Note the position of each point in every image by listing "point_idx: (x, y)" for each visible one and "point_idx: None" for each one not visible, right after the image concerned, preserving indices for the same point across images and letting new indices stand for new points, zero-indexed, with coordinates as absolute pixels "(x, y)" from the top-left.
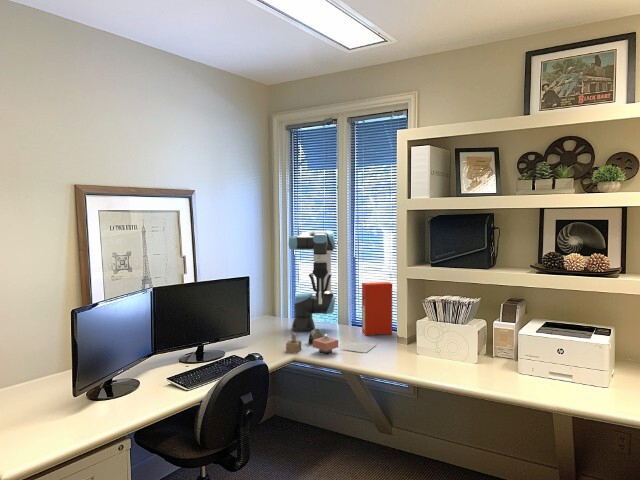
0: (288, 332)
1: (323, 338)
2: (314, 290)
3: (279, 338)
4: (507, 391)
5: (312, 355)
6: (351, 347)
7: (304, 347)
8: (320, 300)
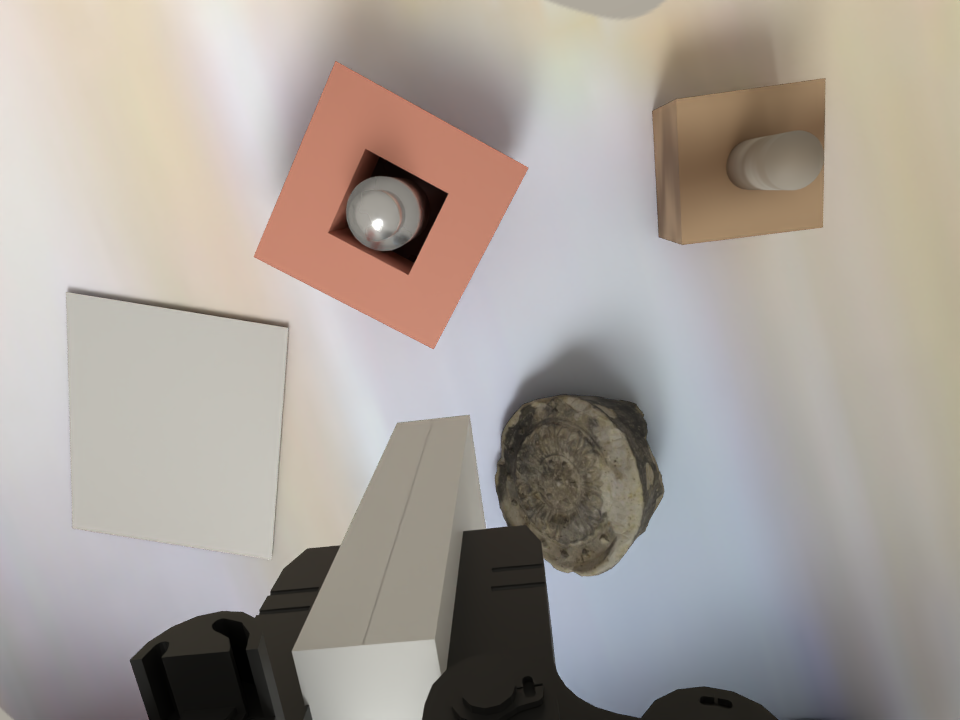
0: (913, 691)
1: (402, 195)
2: (702, 712)
3: (955, 505)
4: None
5: (497, 79)
6: (235, 404)
7: (646, 304)
8: (400, 465)
